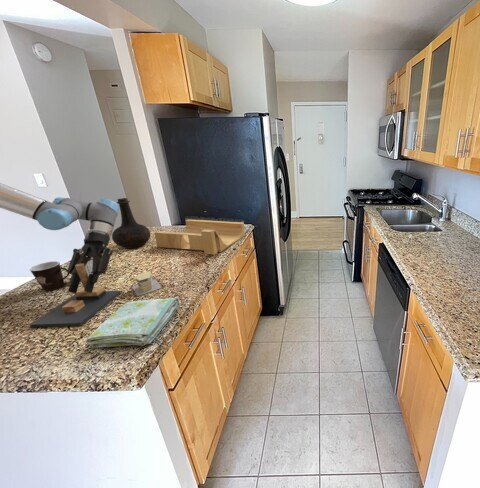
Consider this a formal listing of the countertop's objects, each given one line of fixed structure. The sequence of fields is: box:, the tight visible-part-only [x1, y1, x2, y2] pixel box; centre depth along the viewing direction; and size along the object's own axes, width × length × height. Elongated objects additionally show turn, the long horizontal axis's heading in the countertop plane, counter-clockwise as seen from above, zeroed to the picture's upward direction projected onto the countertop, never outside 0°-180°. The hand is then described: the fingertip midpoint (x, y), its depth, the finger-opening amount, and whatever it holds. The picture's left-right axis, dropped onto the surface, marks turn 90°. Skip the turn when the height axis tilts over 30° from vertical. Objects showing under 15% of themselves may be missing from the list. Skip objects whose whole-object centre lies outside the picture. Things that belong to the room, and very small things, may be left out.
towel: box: [84, 297, 180, 349], centre depth 86 cm, size 18×21×5 cm
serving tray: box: [29, 290, 122, 328], centre depth 96 cm, size 16×20×1 cm
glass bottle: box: [111, 197, 151, 249], centre depth 148 cm, size 18×18×28 cm
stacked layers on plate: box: [131, 271, 163, 297], centre depth 109 cm, size 10×9×6 cm
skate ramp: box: [153, 216, 246, 259], centre depth 154 cm, size 40×35×16 cm
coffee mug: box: [29, 261, 70, 292], centre depth 108 cm, size 12×9×10 cm
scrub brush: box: [73, 264, 106, 300], centre depth 98 cm, size 8×4×14 cm, turn 94°
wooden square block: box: [62, 300, 85, 313], centre depth 93 cm, size 4×4×2 cm
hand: (80, 291), depth 96 cm, fingers open, 5 cm apart
